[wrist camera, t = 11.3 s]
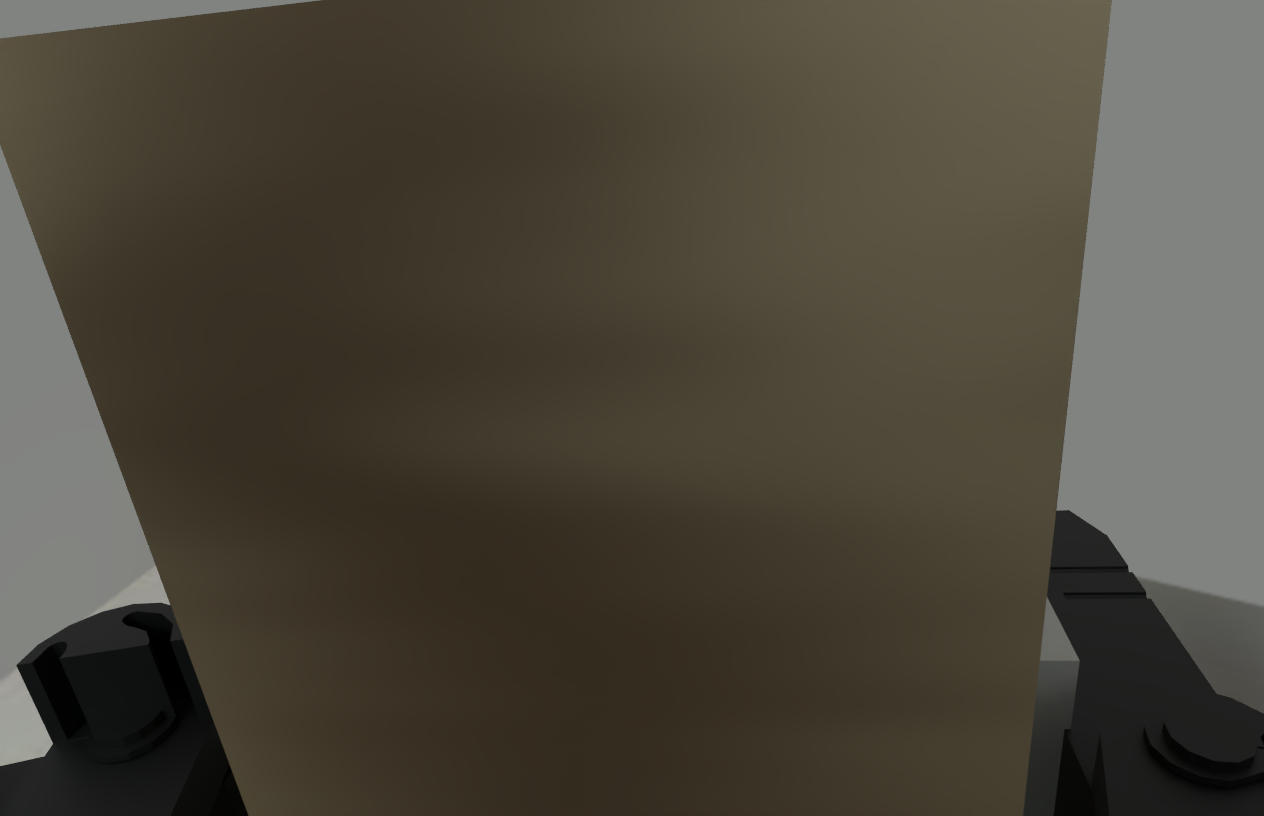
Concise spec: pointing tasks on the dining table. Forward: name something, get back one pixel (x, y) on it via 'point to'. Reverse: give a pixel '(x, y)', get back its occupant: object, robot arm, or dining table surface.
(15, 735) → the dining table surface
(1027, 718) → the stool leg
